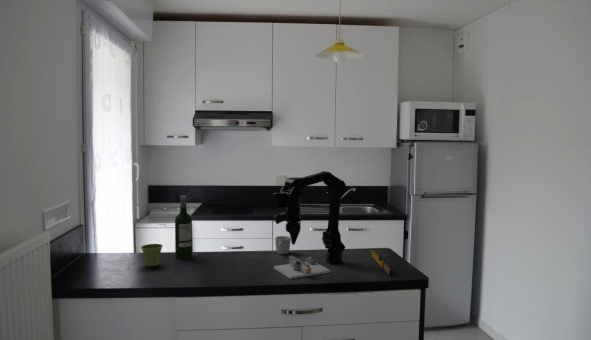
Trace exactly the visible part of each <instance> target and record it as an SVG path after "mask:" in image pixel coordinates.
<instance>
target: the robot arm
mask: <svg viewBox="0 0 591 340" xmlns="http://www.w3.org/2000/svg"><path fill="white" fill-rule="evenodd" d="M322 182H323V184H324V185H325V186H327V193H328V196H329V207H328V208H329V209H328V218H327V220H328V221H327V227H326V230H324V231H322V237H321V240H322V244H323V245H324V248H325V249H327V252H326V260H325V262H327V263H328V264H330V265H333V266H334V265H340V264H344V261H343V252H344V251H345V250H346V246H345V244H344V243H343V242H342V238H341V233H340V230H339V222H340V212H341V200H342V198H343V196H344V195H345V191H346V187H347V184H346V182H345V181H344V180H343V179H340V178H339V177H337V176H335V175H334V174H332V172H330V171H325V170H323V171H320V172H317V173H313V174H310V175H307V176H301V177H288V178H286V179H285V183H284V184H283V186H282V188H281V189H280V191H279V192H274V193H272V195H273V196H272V197H271V198H270V202H269V203H270V206H271V208H272V209H273V210H280V209H286V210H285V212H281V213H278V214H276V215H274V216H273V219H274V222H275V224H276V225H278V224H280V223H282V222H286V224H285V231H286V232H287V233H288V234H289V235H290V236H289V237H290V238H291V241H290V243H291V245H293V246H294V245H295V244H296V242H297V240H298V238H299V234H300V233H301V226H302V223H301V222H302V219H301V218H302V217H301V197H304V196H305V194H304V193H303V190H304V189H306V188H307V187H308V186H309V187H310V186H312V185H315V184H318V183H322Z"/></svg>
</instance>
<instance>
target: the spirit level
mask: <svg viewBox="0 0 591 340" xmlns="http://www.w3.org/2000/svg"><path fill="white" fill-rule="evenodd" d="M370 255H371V257H372V258H373V259H374V260H375V261H376V262H377V263H378V264H379V266H380V267H381V268H382V269H383V270H384V272H385V273H386V275H388V276H389V277H392V276H393V269H391V267H390V266H389V265H388V264H387V263H386V262H385V261H384V260H383V259H382V257H380V255H379V254H378V253H377V252H376V251H375V250H374V249H370Z"/></svg>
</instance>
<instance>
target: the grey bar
mask: <svg viewBox="0 0 591 340" xmlns="http://www.w3.org/2000/svg"><path fill="white" fill-rule="evenodd" d="M288 264H290V265H292V266H293V269H294V270H298V271H302V272H304V273H306V274H309V273H310V272H311V268H310V265H308V264H306V263H305V261H302V260H301V259H299V258H297V257H295V256H294V255H289V256H288Z"/></svg>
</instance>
